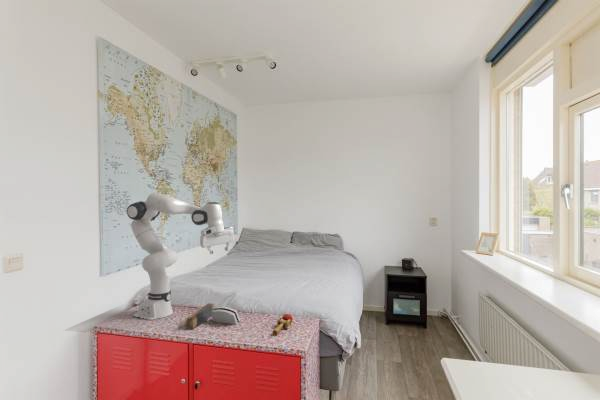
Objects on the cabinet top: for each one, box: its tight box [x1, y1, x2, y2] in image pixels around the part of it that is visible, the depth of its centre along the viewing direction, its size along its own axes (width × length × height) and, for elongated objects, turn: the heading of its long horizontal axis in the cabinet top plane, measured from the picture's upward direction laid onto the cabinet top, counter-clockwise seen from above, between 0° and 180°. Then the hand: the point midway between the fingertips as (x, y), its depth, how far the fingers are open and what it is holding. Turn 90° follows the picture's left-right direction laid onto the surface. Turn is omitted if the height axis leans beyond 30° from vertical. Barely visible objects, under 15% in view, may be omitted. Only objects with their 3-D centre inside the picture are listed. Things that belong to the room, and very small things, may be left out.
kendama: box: [272, 313, 293, 336], centre depth 165 cm, size 8×6×18 cm
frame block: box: [185, 303, 215, 330], centre depth 176 cm, size 4×24×6 cm, turn 168°
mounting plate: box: [196, 303, 213, 328], centre depth 176 cm, size 1×16×7 cm, turn 169°
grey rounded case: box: [211, 306, 242, 326], centre depth 174 cm, size 17×5×10 cm, turn 72°
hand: (219, 252), depth 178 cm, fingers open, 8 cm apart
